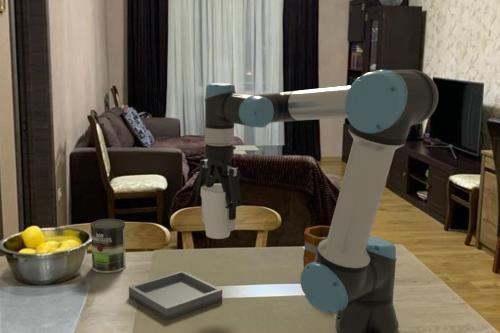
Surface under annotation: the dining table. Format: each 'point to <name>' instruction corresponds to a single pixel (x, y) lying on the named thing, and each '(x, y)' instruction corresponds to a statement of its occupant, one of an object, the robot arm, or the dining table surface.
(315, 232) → the mug
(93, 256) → the coffee can
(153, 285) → the tray
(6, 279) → the dining table surface
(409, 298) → the dining table surface
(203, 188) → the foam cup
